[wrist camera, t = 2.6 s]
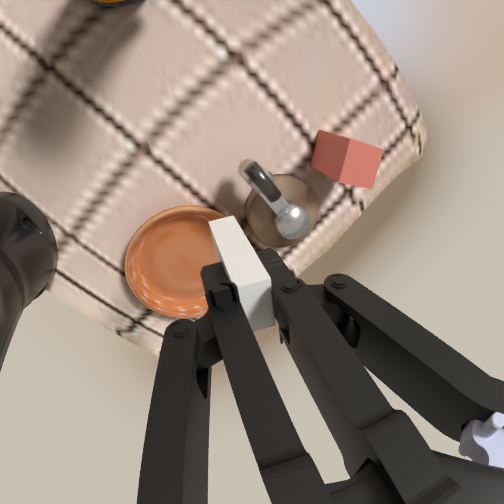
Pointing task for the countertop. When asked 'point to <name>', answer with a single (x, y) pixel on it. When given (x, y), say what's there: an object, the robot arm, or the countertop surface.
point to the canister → (112, 2)
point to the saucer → (172, 261)
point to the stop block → (346, 159)
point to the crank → (276, 201)
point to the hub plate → (262, 213)
